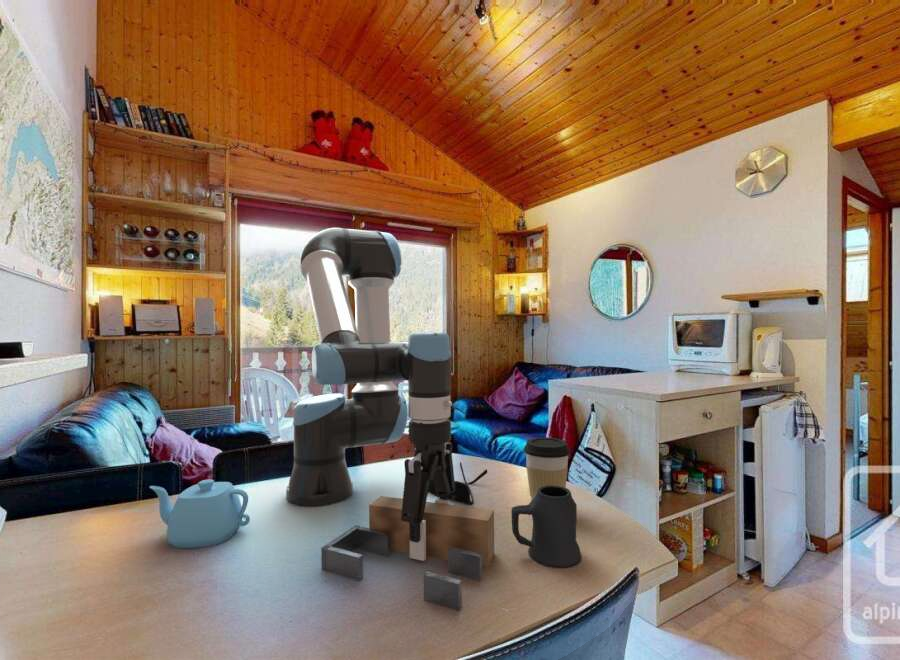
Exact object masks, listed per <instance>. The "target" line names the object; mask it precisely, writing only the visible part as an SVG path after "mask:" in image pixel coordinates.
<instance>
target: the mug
mask: <svg viewBox="0 0 900 660" xmlns="http://www.w3.org/2000/svg"><path fill="white" fill-rule="evenodd" d="M520 515H528V516H531V517H532V533H531V540H530V539H528V538H527V537H525V536H523V535H521V534H520V528H519V518H520ZM510 517H511V530H512V534H513V536H514V537H515V539H516V540H517V542H518V544H520V545H524V546H527V547H528V551H527V552H528V556H529V558H530V559H531V560H532V561H534V562H536V563H537V564H539V565H541V566H545V567H547V568H553V569H569V568H574V567H575V566H578V565H579V564H580V563H581V561H582V553H581V549H580V544H578V543H579V542H578V541H577V519H578V518H577V517H578V516H577V503H576V502H575V500H574V498H573V496H572V492H571V490H570V489H569V488H567V487H566V488H565V487H562V486H557V485H545V486H541V487H539V488H538V490H537V494H536V496H535V497H534V498H533V500H532V501H531V500H530V502H529V503H528V504H524V505H523V504H521V505H515V506H513V507H511V516H510Z"/></svg>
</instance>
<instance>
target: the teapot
mask: <svg viewBox="0 0 900 660" xmlns="http://www.w3.org/2000/svg"><path fill="white" fill-rule="evenodd" d="M149 489H151V490H152V491H154V492H155V494H156V495H157V498H158V502H159V503H158V507H159V509H158V510H159V517H160V518H161V521H162V522H163V523H164V524H165V525H167V527H166V528H167V529H166V539H167V542H169V544H170V545H171V546H172V547H173V548H176V549H177V548H178V549H195V548H196V549H197V548H203V547H204V548H205V547H212V546H217V545H219V544H221V543H224V542H225V541H226V540H228V539H230V537H233V535H235V533H236V532H237V531H238V529H239V527H245V526H247V525H249V523H250V522H251V518H250V515H249V514H247V513H245V511H246V509H247V506H248V503H249V494H248V492H246V491H245V490H243V489H241V488H235V487H234V485H233V483H232V482H229V481H215V480H214V479H211V478H210V479H203V480H201V481H198V483H197V484H193V485H191V486H190V487H188V488H186V489H184V490H182V492H181V493H179V495H178V497H177V499H176V501H175V502H174V505H173V504H172V503H171V500H170V498H169V494H168V492H167V490H166V489H165V488H164V487H161V486H157V485H150V486H149ZM239 496H241V497H242V502H241V500H240V497H239ZM241 503H242V504H241ZM243 519H244V520H243Z"/></svg>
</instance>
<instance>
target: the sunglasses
mask: <svg viewBox="0 0 900 660" xmlns="http://www.w3.org/2000/svg"><path fill="white" fill-rule="evenodd" d="M459 467H460V470H461V475H462V479H463V482H461V481H459V480H455V492H451V493H452V494H455V498H454V500H452V499H449V501H453V502H458V503H462V504H464V505H469V506H472V505H473V504H474V497H473V493H472V490H471V488H470V485H473V484H475V483H477V482H478V481H479V480H480V479H481V478H483V477H484V476H486V475H487V474H488V469H485V470H483V472H481V473H480V474H479V475H478V476H477V477H475V479H474V480H472V481H469V482H467V479H466V476H465V473H464V469H463V463H462V462H461V461H460V462H459ZM421 474H425V473H421ZM425 475H427V474H425ZM449 485H450V484H449ZM428 494H432V495H433V496H436V498H439V497H438V496H437V493H436V489H435V485H434V482H433V480H431V481H430V484H429V489H428Z"/></svg>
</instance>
